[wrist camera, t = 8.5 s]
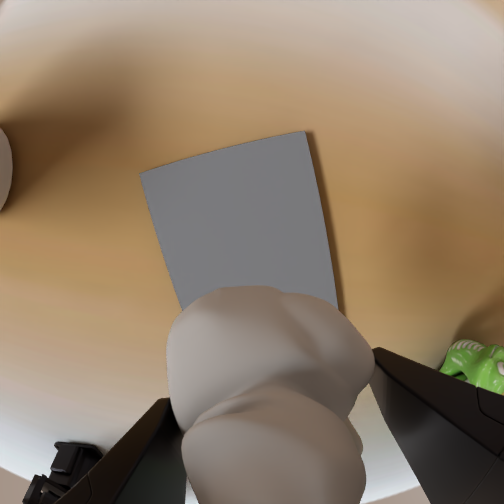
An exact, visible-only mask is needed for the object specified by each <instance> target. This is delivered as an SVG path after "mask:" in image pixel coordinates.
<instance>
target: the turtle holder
mask: <svg viewBox="0 0 504 504" xmlns="http://www.w3.org/2000/svg"><path fill="white" fill-rule="evenodd" d="M440 372H442V373H445V374H447V375H450V376H452V377H455V378H457V379H460V380H463V381H465V382H468V383H470V384H473V385H475V386H476V387H478V386H479V387H481V388H484V389H487V390H489V391H492V392H495V393H498V394H501V395H504V347H502V346H499V345H496V344H495V345H490V346H488V347H486V346H485V345H484V344H480V343H478V342H476V341H473V340H468V339H466V340H465V339H462V340H459V341H457V342H455V343H454V344H452V345H451V346H450V348H449V349H448V351H447V355H446V359H445V362H444V364H443V366H442V368H441V369H440Z"/></svg>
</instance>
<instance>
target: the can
mask: <svg viewBox="0 0 504 504" xmlns="http://www.w3.org/2000/svg"><path fill="white" fill-rule="evenodd" d="M12 170H13V164H12V151H11V148H10V145H9V141H8V138H7V136H6V135H5V133H4V132H3V130H2V129H1V128H0V211H1V209H2V207H3V205H4V203H5V201H6V200H7V197H8V193H9V189H10V186H11V180H12Z"/></svg>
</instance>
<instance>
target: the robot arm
mask: <svg viewBox="0 0 504 504" xmlns="http://www.w3.org/2000/svg"><path fill="white" fill-rule="evenodd" d="M372 351H373V354H374V358H375V368H374V373H373V376H372V378H371V380H370V382H369V384H370V387H371V389H372V391H373V394H374V396H375V398H376V401H377V403H378V406H379V408H380V411H381V413H382V415H383V418H384V420H385V422H386V424H387V426H388V428H389V429H390V431H391V433H392V435H393V436H394V438H395V440H396V442H397V443H398V445H399V447H400V449H401V450H402V452H403V454H404V456H405V458H406V459H407V461H408V463H409V465H410V467H411V468H412V470H413V472H414V474H415V476H416V477H417V479H418V481H419V483H420V485H421V486H422V488H423V490H424V492H425V494H426V496H427V498H428V499H429V501H430V503H431V504H504V395H501V394H498V393H495V392H492V391H489V390H487V389H484V388H481V387H479V386H478V387H476V386H475V385H473V384H470V383H468V382H465V381H463V380H460V379H457V378H455V377H452V376H450V375H447V374H445V373H442V372H440V371H437V370H435V369H432V368H430V367H427V366H425V365H422V364H420V363H417V362H415V361H412V360H410V359H408V358H405V357H403V356H400V355H398V354H396V353H393V352H391V351H388V350H386V349H384V348H381V347H377V348H374V349H372ZM183 437H184V435H183V434H182V432H181V430H180V428H179V426H178V423H177V421H176V418H175V415H174V412H173V409H172V405H171V400H170V397H169V398H161V399H158V400H157V401H156V402H155V403H154V404H153V405H152V406H151V408H150V409H149V410H148V411H147V412H146V413H145V414H144V415H143V416H142V417H141V418H140V419H139V420H138V421H137V422H136V423H135V425H134V426H133V427H132V428H131V429H130V430H129V431H128V432H127V433H126V434H125V435H124V436H123V437H122V438H121V439H120V440H119V441H118V442H117V443H116V444H115V445H114V446H113V447H112V448H111V449H110V451H109V452H108V453H107V454H106V455H105V456H103V455H102V454H101V452H100V451H99V450H98V449H97V448H96V447H95V446H93V445H81V444H69V443H59V442H56V443H55V444H54V446H55V447H56V449H57V450H58V452H57V455H56V457H55V459H54V461H53V463H52V465H51V468H50V469H51V470H52V471H51V474H50V476H49V478H47V476H45V475H44V474H42V476H38V475H34V478H33V480H32V482H31V484H30V486H29V489H28V490H27V492H26V495H25V497H24V499H23V501H22V502H23V504H185V494H186V478H187V473H186V470H185V466H184V462H183V458H182V450H181V446H182V440H183ZM41 490H42V491H43V493H41Z"/></svg>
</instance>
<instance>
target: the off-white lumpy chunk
mask: <svg viewBox="0 0 504 504" xmlns="http://www.w3.org/2000/svg"><path fill="white" fill-rule="evenodd" d="M166 356H167V378H168V387H169V395H170V400H171V405H172V409H173V412H174V415H175V418H176V421H177V423H178V426H179V428H180V430H181V432H182V434H183V435H184V437H183V440H182V446H181V450H182V458H183V462H184V466H185V470H186V473H187V476H188V478H189V481H190V483H191V486H192V489H193V491H194V493H195V495H196V498H197V500H198V503H199V504H359V503H360V501H361V498H362V495H363V493H364V490H365V486H366V472H365V466H364V463H363V461H362V458H361V454H362V451H363V445H362V441H361V438H360V436H359V435H358V433H357V432H356V430H355V428H354V427H353V425H352V424H351V422H350V420H349V418H348V415H349V413H350V412H351V410H352V408H353V406H354V404H355V401H356V399H357V396H358V394H359V393H360V392H361V391H362V390H363V389H364V388H365V387H366V385H367V384H368V383H369V382H370V380H371V378H372V376H373V373H374V368H375V358H374V354H373V351H372V349H371V347H370V345H369V344H368V343H367V341H366V340H365V339H364V338H363V336H362V335H361V334H360V333H359V332H358V330H357V329H356V328H355V327H354V326H353V324H352V323H351V322H350V321H349V320H348V319H347V318H346V317H345V316H344V315H343V314H342V313H341V312H340V311H339V310H338V309H337V308H335V307H334V306H333V305H332V304H330V303H329V302H327V301H325V300H323V299H320V298H317V297H314V296H310V295H307V294H302V293H283V292H281V291H280V290H279V289H277V288H274V287H271V286H263V285H254V286H237V287H224V288H218V289H216V290H214V291H213V292H211V293H208V294H206V295H204V296H202V297H200V298H198V299H197V300H195V301H194V302H193V303H192V304H190V305H189V306H188V307H187V308H186V309H184V310H183V311H182V312H181V313H180V314H179V315H178V316H177V317H176V319H175V320H174V322H173V324H172V327H171V329H170V332H169V336H168V340H167V347H166Z"/></svg>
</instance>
